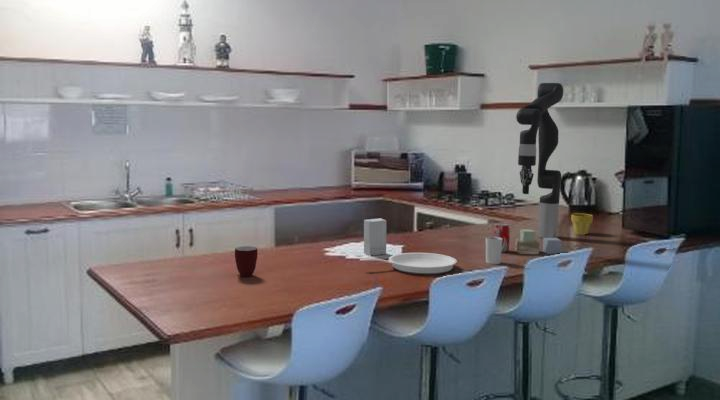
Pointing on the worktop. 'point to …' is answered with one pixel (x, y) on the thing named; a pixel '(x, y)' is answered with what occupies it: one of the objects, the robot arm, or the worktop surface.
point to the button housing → (527, 247)
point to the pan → (420, 263)
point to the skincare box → (375, 236)
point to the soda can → (502, 235)
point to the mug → (246, 260)
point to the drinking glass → (493, 250)
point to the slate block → (551, 245)
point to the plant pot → (581, 223)
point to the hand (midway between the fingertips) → (525, 193)
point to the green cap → (527, 235)
